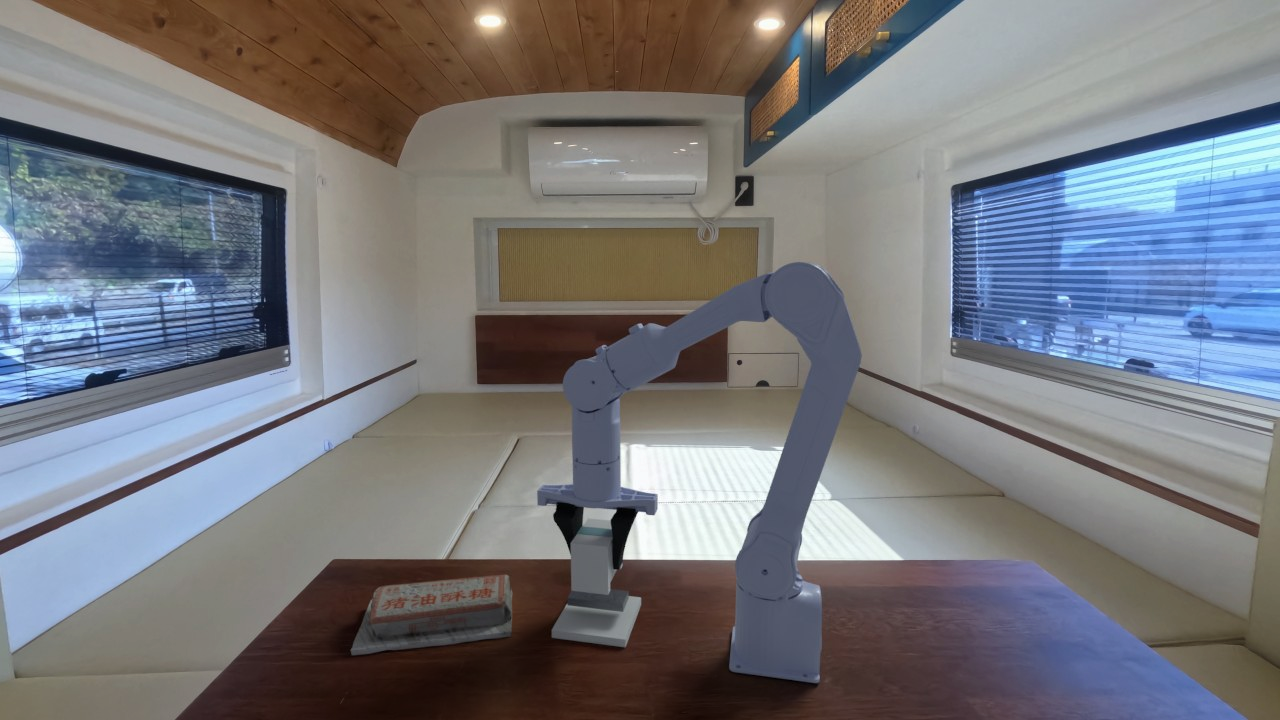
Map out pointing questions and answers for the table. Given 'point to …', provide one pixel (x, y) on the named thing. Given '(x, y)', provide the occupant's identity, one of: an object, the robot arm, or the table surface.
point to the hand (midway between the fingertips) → (597, 563)
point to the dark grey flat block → (599, 600)
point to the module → (592, 557)
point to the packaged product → (436, 614)
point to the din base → (597, 624)
